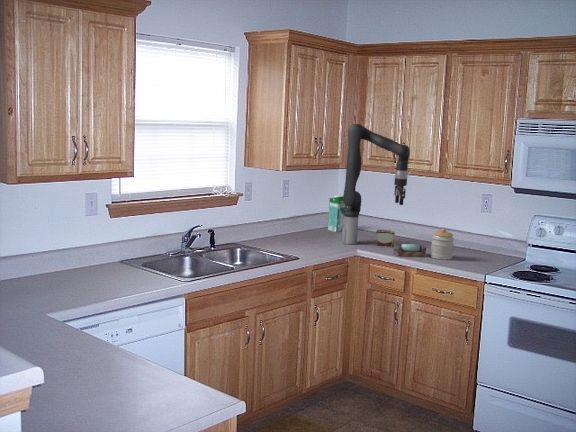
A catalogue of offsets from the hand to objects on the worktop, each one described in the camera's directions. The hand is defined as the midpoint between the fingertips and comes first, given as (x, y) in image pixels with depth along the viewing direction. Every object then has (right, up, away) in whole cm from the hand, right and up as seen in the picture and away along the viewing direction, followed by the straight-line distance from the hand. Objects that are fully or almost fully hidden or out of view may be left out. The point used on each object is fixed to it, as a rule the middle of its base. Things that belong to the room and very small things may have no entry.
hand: (399, 203), depth 410 cm
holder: (+4, -31, -13) cm, 34 cm away
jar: (+23, -32, -15) cm, 42 cm away
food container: (-8, -27, +12) cm, 30 cm away
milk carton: (-34, -18, +56) cm, 68 cm away
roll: (+5, -27, -13) cm, 30 cm away
